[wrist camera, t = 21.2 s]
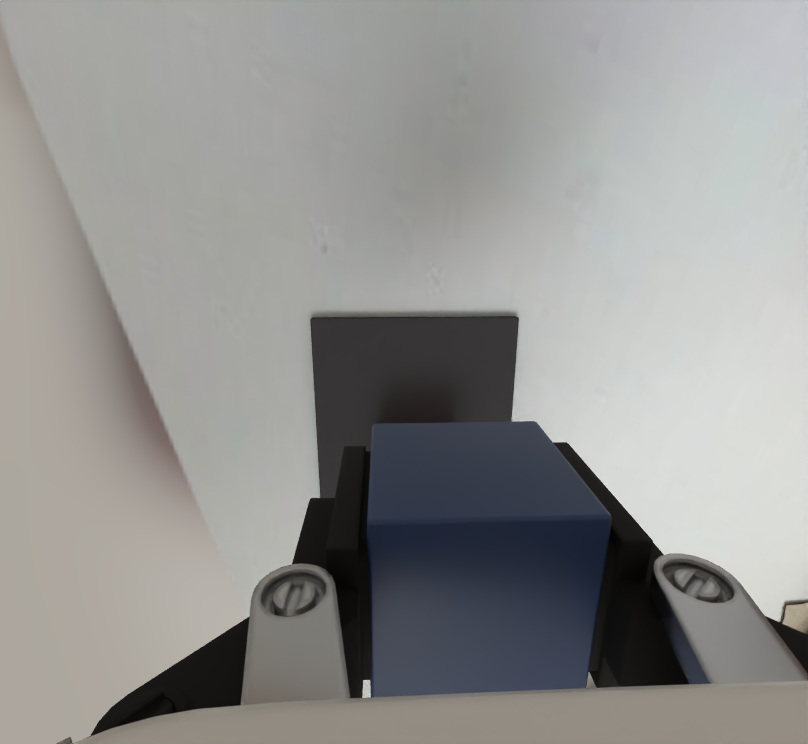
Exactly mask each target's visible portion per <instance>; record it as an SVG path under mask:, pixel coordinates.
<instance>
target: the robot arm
mask: <svg viewBox="0 0 808 744" xmlns="http://www.w3.org/2000/svg"><path fill="white" fill-rule="evenodd" d="M553 444H554V445H555V446H556V447H557V449H558V450H559V451H560V452H561V453H562V455H563V456H564V457H565V458H566V460H567V461H568V462H569V463H570V465H571V466H572V467H573V468H574V470H575V471H576V472H577V473H578V475H579V476H580V477H581V478H582V480H583V481H584V482H585V483H586V485H587V486H588V487H589V488H590V490H591V491H592V492H593V493H594V495H595V496H596V497H597V498H598V500H599V501H600V502H601V503H602V505H603V506H604V507H605V508H606V510H607V511H608V512H609V513H610V514H611V517H612V523H611V529H610V536H609V542H608V549H607V555H606V562H605V568H604V575H603V581H602V588H601V594H600V601H599V607H598V614H597V620H596V626H595V633H594V639H593V646H592V652H591V659H590V665H589V672H590V674H591V676H592V679H593V681H594V683H595V685H596V687H597V688H580V689H555V690H530V691H505V692H481V693H459V694H437V695H415V696H393V697H371V698H362V690H363V680H370V679H371V642H370V597H369V562H368V554H367V511H368V493H369V476H370V458H371V451H366V446H344V450H343V456H342V461H341V467H340V472H339V478H338V483H337V489H336V494H335V498H311V499H310V501H309V504H308V508H307V512H306V515H305V519H304V523H303V526H302V530H301V534H300V537H299V541H298V545H297V548H296V552H295V556H294V559H293V563H292V565H288V566H284V567H281V568H279V569H277V570H275V571H272V572H270V573H269V574H268V575H267V576H265V577H264V578H263V579H262V580H261V581H260V582H259V583H258V585H257V586H256V587H255V589H254V592H253V595H252V598H251V607H250V617H248V618H246V619H245V620H243V621H242V622H240V623H239V624H237V625H236V626H234V627H232V628H231V629H229V630H228V631H226V632H225V633H223V634H222V635H220V636H218V637H217V638H215V639H214V640H212V641H211V642H209V643H208V644H206V645H205V646H203V647H201V648H200V649H199V650H197V651H195V652H194V653H192V654H190V655H189V656H187V657H186V658H185V659H183V660H181V661H180V662H178V663H176V664H175V665H173V666H172V667H170V668H169V669H167V670H165V671H164V672H162V673H161V674H159V675H158V676H156V677H155V678H153V679H151V680H150V681H149V682H147V683H145V684H144V685H142V686H141V687H139V688H137V689H136V690H134V691H133V692H131V693H130V694H128V695H127V696H125V697H124V698H123V699H122V700H120V701H119V702H118V703H116V704H115V705H114V706H113V707H111V709H110V710H109V711H108V712H107V713H106V714H105V715H104V716H103V717H102V719H101V720H100V721H99V722H98V724H97V726H96V727H95V729H94V731H93V733H92V734H91V736H89V737H87V738H86V739H83V740H80V741H78V742H75V743H72V740H71V737H69V738H67V739H65V740H63V741H61V742H59V743H57V744H808V635H807V634H805V633H803V632H800V631H798V630H796V629H794V628H791V627H789V626H787V625H784V624H782V623H780V622H777V621H775V620H773V619H771V618H768V617H766V616H764V614H763V613H762V612H761V610H760V609H759V608H758V606H757V605H756V604H755V602H754V601H753V600H752V598H751V597H750V596H749V594H748V593H747V592H746V590H745V589H744V588H743V586H742V585H741V584H740V583H739V582H738V581H737V580H736V579H735V578H734V577H733V576H732V575H731V574H730V573H728V572H727V571H726V570H724V569H723V568H721V567H720V566H718V565H716V564H714V563H712V562H710V561H708V560H705V559H702V558H699V557H696V556H692V555H686V554H666V555H663V553H662V552H661V551H660V550H659V549H658V548H657V546H656V545H655V544H654V543H653V541H652V539H651V538H650V537H649V536H648V535H647V534H646V532H645V531H644V530H643V529H642V528H641V527H640V526H639V524H638V523H637V522H636V521H635V520H634V519H633V518H632V516H631V515H630V514H629V513H628V512H627V511H626V510H625V508H624V507H623V506H622V505H621V504H620V503H619V501H618V500H617V499H616V498H615V497H614V496H613V495H612V493H611V492H610V491H609V490H608V489H607V488H606V487H605V485H604V484H603V483H602V482H601V481H600V480H599V478H598V477H597V476H596V475H595V474H594V473H593V472H592V470H591V469H590V468H589V467H588V466H587V465H586V464H585V462H584V461H583V460H582V459H581V458H580V457H579V456H578V454H577V453H576V452H575V451H574V450H573V449H572V447H571V446H570V445H569V444H568V443H566V442H561V443H553Z"/></svg>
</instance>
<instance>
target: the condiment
mask: <svg viewBox="0 0 808 744" xmlns="http://www.w3.org/2000/svg"><path fill="white" fill-rule="evenodd" d="M782 624H784V625H787V626H789V627H791V628H794V629H796V630H798V631H800V632H803V633H805V634H807V635H808V603H804V604H798V605H787V606H786V610H785V617H784V620H783V623H782Z"/></svg>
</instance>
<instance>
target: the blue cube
mask: <svg viewBox="0 0 808 744" xmlns="http://www.w3.org/2000/svg"><path fill="white" fill-rule="evenodd" d="M611 523H612V517H611V514H610V513H609V512H608V511H607V510H606V508H605V507H604V506H603V505H602V503H601V502H600V501H599V500H598V498H597V497H596V496H595V495H594V493H593V492H592V491H591V490H590V488H589V487H588V486H587V485H586V483H585V482H584V481H583V480H582V478H581V477H580V476H579V475H578V473H577V472H576V471H575V470H574V468H573V467H572V466H571V465H570V463H569V462H568V461H567V460H566V458H565V457H564V456H563V455H562V453H561V452H560V451H559V450H558V449H557V447H556V446H555V445H554V444H553V442H552V441H551V440H550V439H549V437H548V436H547V435H546V434H545V432H544V431H543V430H542V429H541V427H540V426H539V425H538V424H537V422H534V421H524V422H453V423H383V424H373V426H372V440H371V458H370V476H369V493H368V511H367V554H368V562H369V597H370V642H371V679H370V681H371V697H393V696H415V695H437V694H459V693H481V692H505V691H530V690H555V689H580V688H586V685H587V678H588V672H589V665H590V659H591V652H592V646H593V639H594V633H595V626H596V620H597V614H598V607H599V601H600V594H601V588H602V581H603V575H604V568H605V562H606V555H607V549H608V542H609V536H610V529H611Z"/></svg>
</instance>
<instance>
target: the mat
mask: <svg viewBox="0 0 808 744" xmlns="http://www.w3.org/2000/svg"><path fill="white" fill-rule="evenodd" d="M518 322H519V318H518V317H516V316H498V317H336V318H311V338H312V356H313V373H314V391H315V409H316V426H317V444H318V462H319V479H320V497H321V498H335V494H336V489H337V483H338V478H339V472H340V467H341V461H342V456H343V450H344V446H366V451H371V440H372V426H373V424H383V423H453V422H511V417H512V404H513V390H514V377H515V363H516V349H517V336H518Z"/></svg>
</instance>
